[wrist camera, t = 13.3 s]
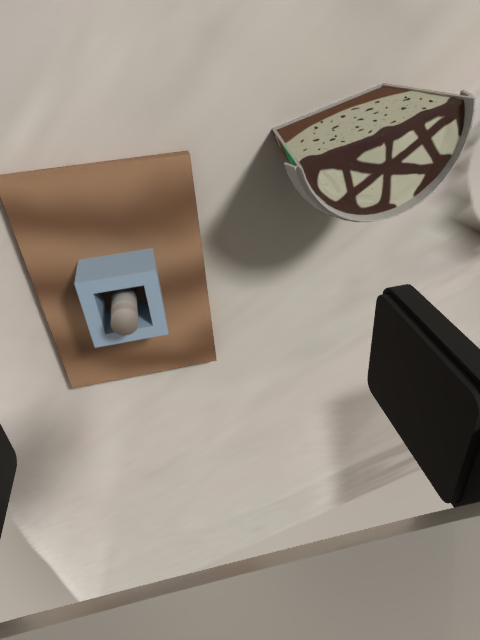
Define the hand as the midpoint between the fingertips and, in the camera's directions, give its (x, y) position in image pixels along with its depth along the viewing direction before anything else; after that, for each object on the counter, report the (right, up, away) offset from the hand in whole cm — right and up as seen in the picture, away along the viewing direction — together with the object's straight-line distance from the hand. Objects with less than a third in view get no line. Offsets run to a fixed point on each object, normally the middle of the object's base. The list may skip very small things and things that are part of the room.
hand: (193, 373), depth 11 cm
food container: (+9, +16, +27) cm, 32 cm away
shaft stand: (-9, +5, +29) cm, 31 cm away
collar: (-9, +4, +28) cm, 30 cm away
